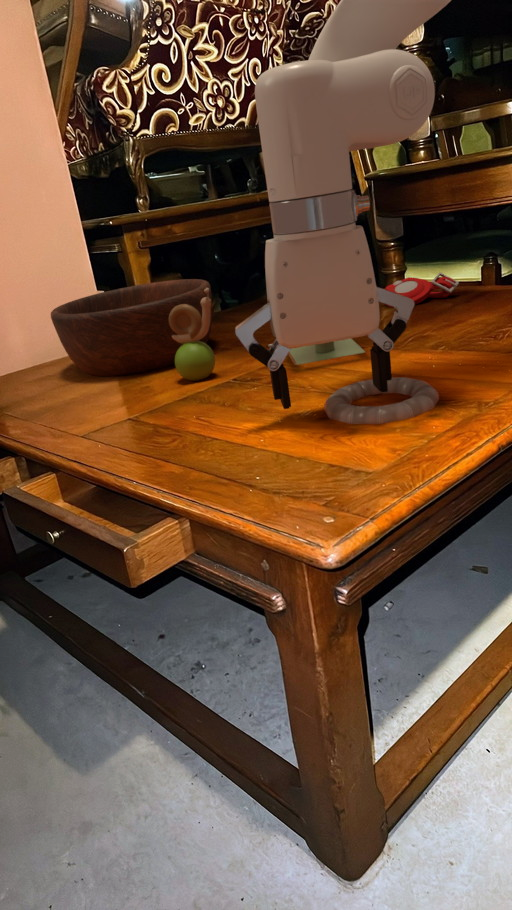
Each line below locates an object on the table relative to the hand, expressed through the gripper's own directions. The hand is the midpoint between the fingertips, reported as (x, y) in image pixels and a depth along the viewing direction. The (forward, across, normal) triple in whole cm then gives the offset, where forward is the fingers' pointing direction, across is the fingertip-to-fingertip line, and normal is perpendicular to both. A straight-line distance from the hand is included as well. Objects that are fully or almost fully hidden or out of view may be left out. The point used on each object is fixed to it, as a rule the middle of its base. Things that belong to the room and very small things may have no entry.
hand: (333, 396), depth 69 cm
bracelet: (+2, -5, 0) cm, 5 cm away
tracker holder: (+2, -25, -51) cm, 57 cm away
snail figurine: (+3, +13, -26) cm, 29 cm away
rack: (+3, -4, -25) cm, 26 cm away
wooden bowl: (+3, +22, -45) cm, 50 cm away
